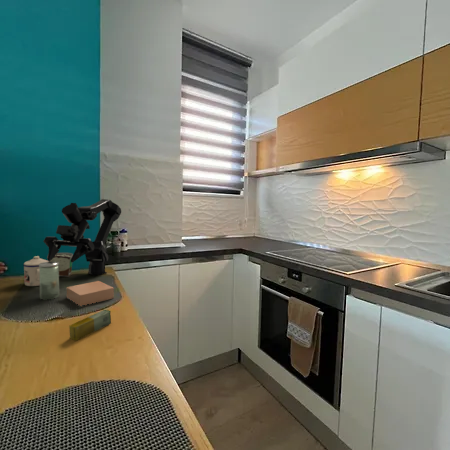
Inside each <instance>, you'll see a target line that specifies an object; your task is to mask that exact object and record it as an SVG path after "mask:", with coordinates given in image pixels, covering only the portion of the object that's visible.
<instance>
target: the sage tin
mask: <svg viewBox="0 0 450 450" xmlns="http://www.w3.org/2000/svg"><path fill="white" fill-rule="evenodd" d="M39 272H40V285H39V299H40V300H41V299H43V301H48V300H47V299H51V300H54V298H55V299H58V298H59V297H60V276H59V262H43V263H40V264H39ZM57 297H58V298H57Z"/></svg>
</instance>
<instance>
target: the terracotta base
mask: <svg viewBox="0 0 450 450" xmlns="http://www.w3.org/2000/svg"><path fill="white" fill-rule="evenodd" d="M114 292H115V288H114V287H113V286H111V285H109V284H106V283H104V282H102V281H100V280H95V281H91V282H86V283H80V284H77V285H70V286H67V287H66V299H68V298H69V299H70V301H71V300H72V301H73V302H72V301H71V302H72V303H74V302H75V303H74V304H76V305H77V304H78V305H77V306H79V305H80V306H81V307H83V306H82V305H85V306H88V305H87V304H89V305H93V304H96V302H97V303H100V302H104V301H107V300H108V301H109V300H111V299H114V298H115V296H114V295H115V293H114ZM69 299H68V300H69ZM92 303H93V304H92ZM80 306H79V307H80Z"/></svg>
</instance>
